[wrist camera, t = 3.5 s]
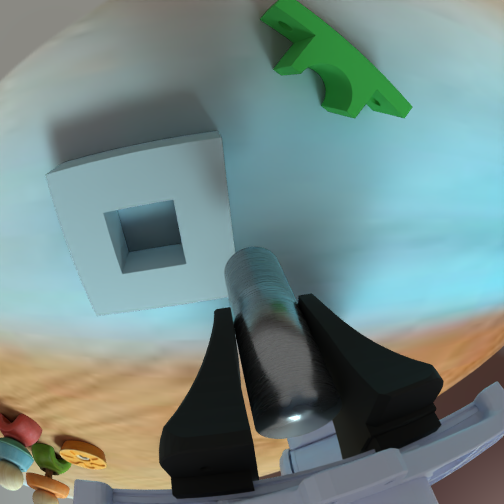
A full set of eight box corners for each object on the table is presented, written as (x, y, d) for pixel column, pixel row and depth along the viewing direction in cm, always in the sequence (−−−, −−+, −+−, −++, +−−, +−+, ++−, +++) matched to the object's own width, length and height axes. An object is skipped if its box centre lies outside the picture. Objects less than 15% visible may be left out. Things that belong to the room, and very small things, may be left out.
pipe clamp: (237, 46, 17) (247, 36, 13) (267, 9, 16) (285, -8, 12) (354, 135, 21) (385, 147, 17) (379, 100, 20) (414, 106, 16)
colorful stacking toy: (121, 460, 40) (120, 525, 29) (52, 462, 40) (46, 516, 29) (47, 405, 30) (32, 487, 20) (-16, 410, 30) (-34, 472, 20)
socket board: (235, 272, 25) (240, 295, 22) (103, 292, 24) (96, 316, 21) (217, 130, 19) (221, 137, 17) (62, 162, 18) (45, 175, 16)
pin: (280, 288, 18) (337, 425, 10) (228, 298, 18) (259, 445, 10) (277, 242, 16) (347, 382, 9) (219, 252, 16) (250, 406, 8)
